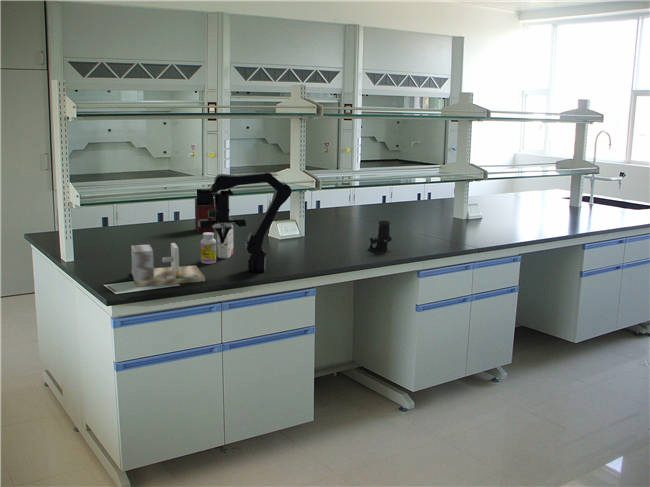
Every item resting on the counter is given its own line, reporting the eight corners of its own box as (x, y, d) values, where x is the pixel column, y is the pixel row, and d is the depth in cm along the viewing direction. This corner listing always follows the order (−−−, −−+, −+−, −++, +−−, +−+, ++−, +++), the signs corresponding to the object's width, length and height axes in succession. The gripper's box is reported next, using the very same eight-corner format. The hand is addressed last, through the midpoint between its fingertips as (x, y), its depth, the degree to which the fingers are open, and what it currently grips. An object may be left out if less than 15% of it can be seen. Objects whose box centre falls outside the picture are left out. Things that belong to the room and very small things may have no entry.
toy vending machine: (211, 227, 352) (210, 176, 346) (215, 231, 342) (214, 179, 336) (194, 228, 349) (193, 176, 343) (198, 232, 339) (197, 179, 332)
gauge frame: (195, 268, 270) (195, 239, 268) (205, 281, 253) (204, 250, 250) (131, 273, 261) (130, 243, 258) (136, 286, 244) (135, 254, 241)
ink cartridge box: (223, 253, 297) (223, 222, 294) (233, 254, 297) (233, 222, 293) (217, 257, 289) (216, 225, 286) (227, 258, 288) (227, 226, 285)
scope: (370, 220, 314) (390, 220, 316) (368, 247, 317) (388, 247, 319) (374, 223, 306) (394, 223, 308) (372, 251, 309) (393, 251, 311)
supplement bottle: (197, 262, 281) (197, 233, 278) (208, 259, 286) (207, 231, 283) (208, 265, 277) (208, 235, 274) (219, 262, 282) (219, 233, 279)
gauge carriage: (175, 269, 262) (174, 242, 260) (181, 278, 250) (180, 250, 248) (161, 270, 260) (160, 243, 258) (166, 279, 248) (165, 251, 245)
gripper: (239, 201, 272) (239, 237, 275) (194, 203, 265) (195, 240, 269) (246, 206, 262) (246, 243, 265) (200, 207, 255) (200, 246, 258)
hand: (222, 243), depth 265 cm, fingers closed
